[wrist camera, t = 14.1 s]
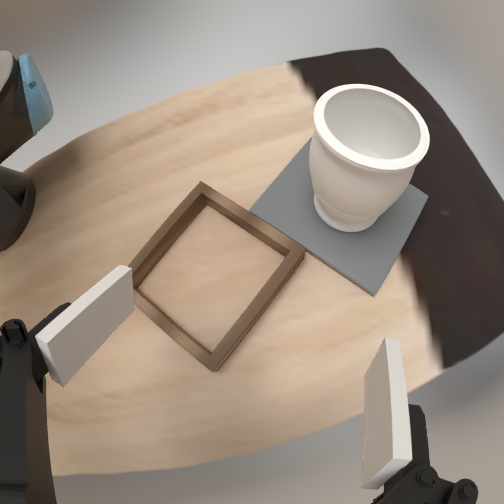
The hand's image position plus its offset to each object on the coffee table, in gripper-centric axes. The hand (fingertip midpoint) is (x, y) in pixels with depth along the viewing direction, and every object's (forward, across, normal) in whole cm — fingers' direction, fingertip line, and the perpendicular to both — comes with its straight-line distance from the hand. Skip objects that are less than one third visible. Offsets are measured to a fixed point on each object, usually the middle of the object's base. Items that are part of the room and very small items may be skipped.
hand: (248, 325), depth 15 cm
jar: (+27, +5, 0) cm, 28 cm away
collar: (+19, -8, -10) cm, 23 cm away
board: (+28, +5, -1) cm, 28 cm away
